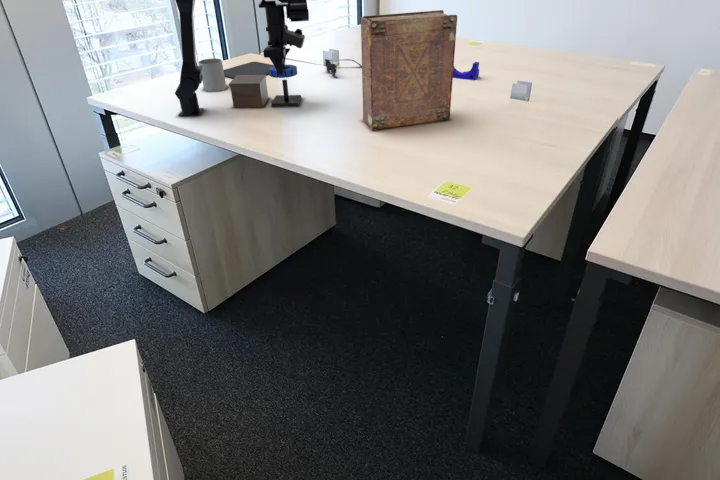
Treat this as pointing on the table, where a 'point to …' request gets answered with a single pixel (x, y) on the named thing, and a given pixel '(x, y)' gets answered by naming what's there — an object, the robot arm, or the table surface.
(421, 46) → the book
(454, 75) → the cable clip
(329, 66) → the sunglasses
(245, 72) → the mouse pad
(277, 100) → the peg stand
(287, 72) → the ring
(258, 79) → the box
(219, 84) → the cup
